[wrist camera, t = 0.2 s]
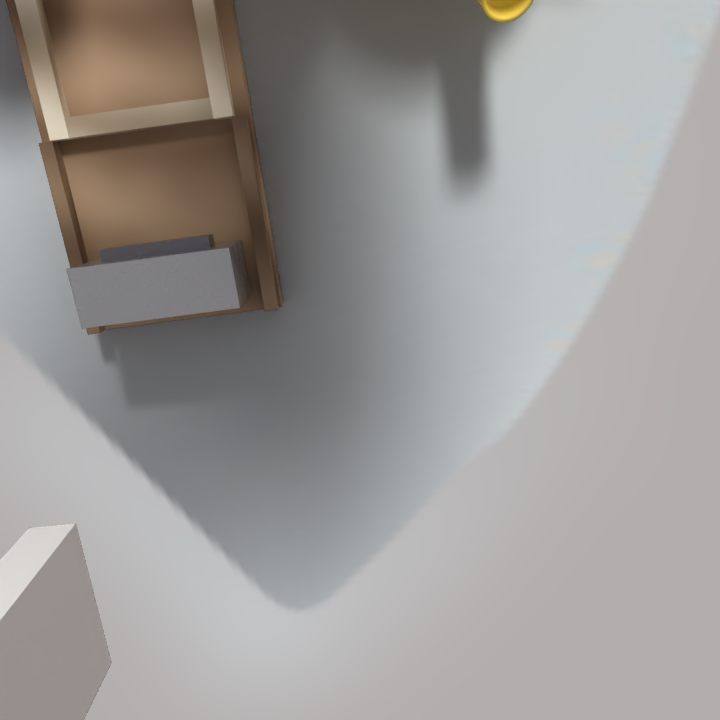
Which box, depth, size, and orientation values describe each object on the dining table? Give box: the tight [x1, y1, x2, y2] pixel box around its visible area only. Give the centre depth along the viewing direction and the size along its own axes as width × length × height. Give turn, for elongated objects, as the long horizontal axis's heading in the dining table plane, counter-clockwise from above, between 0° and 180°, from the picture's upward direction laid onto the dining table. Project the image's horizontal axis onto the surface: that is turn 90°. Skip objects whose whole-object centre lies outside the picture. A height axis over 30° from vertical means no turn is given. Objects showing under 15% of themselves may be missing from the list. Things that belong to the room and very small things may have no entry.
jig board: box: [6, 0, 283, 334], centre depth 33 cm, size 20×11×2 cm, turn 7°
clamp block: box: [67, 234, 251, 329], centre depth 33 cm, size 4×8×4 cm, turn 97°
